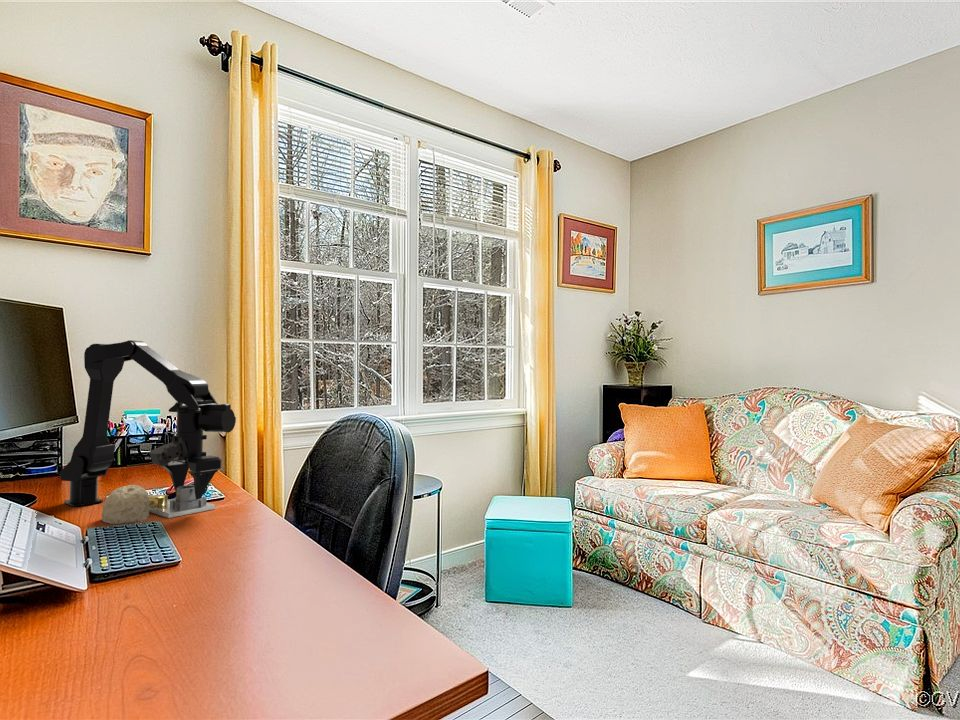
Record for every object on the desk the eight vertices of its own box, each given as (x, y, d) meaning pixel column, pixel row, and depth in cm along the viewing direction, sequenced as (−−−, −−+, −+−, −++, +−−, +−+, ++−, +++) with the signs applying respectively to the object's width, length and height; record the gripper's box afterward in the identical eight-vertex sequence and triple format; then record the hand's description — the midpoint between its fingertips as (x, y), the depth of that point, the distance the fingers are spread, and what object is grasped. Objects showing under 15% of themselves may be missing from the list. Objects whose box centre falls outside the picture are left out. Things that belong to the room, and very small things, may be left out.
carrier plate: (138, 509, 137) (138, 490, 137) (186, 500, 146) (187, 483, 146) (165, 518, 129) (166, 498, 129) (214, 508, 139) (215, 490, 139)
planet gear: (164, 506, 137) (164, 487, 137) (195, 500, 143) (195, 482, 143) (180, 511, 132) (180, 491, 132) (211, 505, 138) (212, 486, 139)
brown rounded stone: (149, 536, 130) (166, 494, 136) (125, 520, 122) (144, 477, 128) (111, 533, 131) (130, 492, 137) (84, 518, 123) (106, 475, 129)
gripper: (136, 430, 137) (134, 496, 136) (175, 437, 126) (173, 508, 126) (182, 427, 146) (181, 488, 145) (223, 433, 135) (221, 499, 135)
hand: (188, 496), depth 138 cm, fingers open, 9 cm apart
